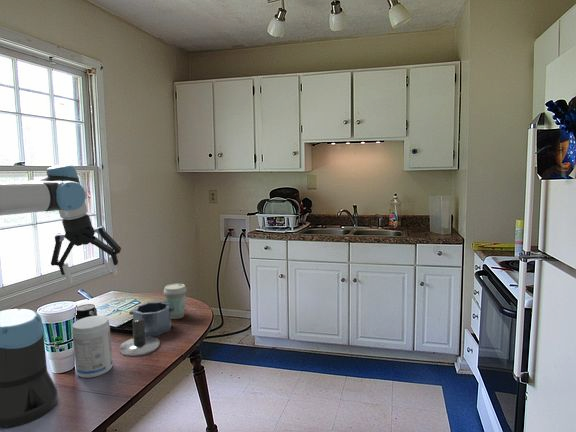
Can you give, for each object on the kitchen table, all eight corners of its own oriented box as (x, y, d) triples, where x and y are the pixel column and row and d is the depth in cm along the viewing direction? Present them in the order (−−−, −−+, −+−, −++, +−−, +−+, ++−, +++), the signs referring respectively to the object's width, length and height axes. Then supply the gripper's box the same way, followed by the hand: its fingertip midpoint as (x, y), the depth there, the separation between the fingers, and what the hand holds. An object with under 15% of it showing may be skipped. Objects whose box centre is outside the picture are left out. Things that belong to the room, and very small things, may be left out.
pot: (173, 334, 139) (171, 312, 138) (127, 338, 136) (125, 315, 135) (176, 321, 151) (175, 300, 150) (134, 324, 148) (133, 303, 147)
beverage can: (75, 340, 135) (72, 306, 133) (96, 335, 139) (93, 302, 137) (79, 347, 130) (76, 312, 128) (101, 342, 134) (98, 307, 132)
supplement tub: (91, 361, 121) (87, 314, 119) (119, 363, 119) (116, 315, 117) (68, 378, 111) (63, 327, 109) (99, 380, 110) (95, 329, 108)
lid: (156, 354, 125) (154, 326, 123) (115, 358, 123) (113, 329, 121) (161, 338, 136) (160, 312, 135) (124, 341, 134) (122, 314, 133)
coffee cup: (181, 321, 150) (179, 290, 149) (160, 319, 152) (158, 289, 151) (191, 313, 159) (190, 283, 157) (172, 311, 161) (170, 282, 159)
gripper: (119, 205, 127) (135, 265, 134) (34, 219, 123) (55, 281, 129) (116, 211, 120) (132, 275, 127) (25, 227, 116) (47, 292, 122)
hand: (93, 278), depth 128 cm, fingers open, 13 cm apart
